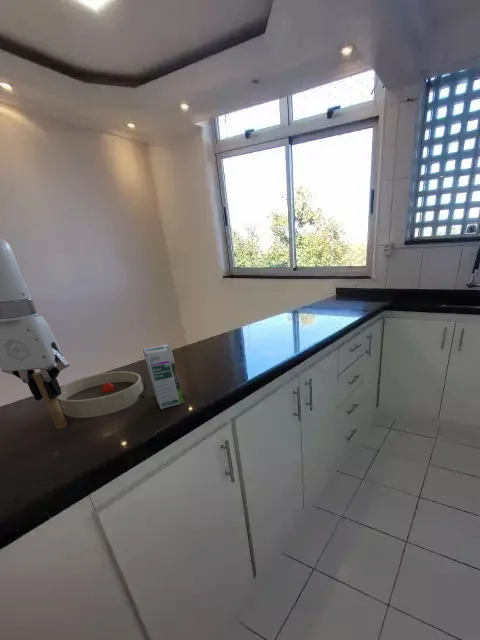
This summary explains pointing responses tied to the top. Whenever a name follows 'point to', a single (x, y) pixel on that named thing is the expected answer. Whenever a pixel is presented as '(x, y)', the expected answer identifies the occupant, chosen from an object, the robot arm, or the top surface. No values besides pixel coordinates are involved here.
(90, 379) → the ring
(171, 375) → the syrup box
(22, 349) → the robot arm
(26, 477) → the top surface
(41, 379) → the stick
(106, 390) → the ball
